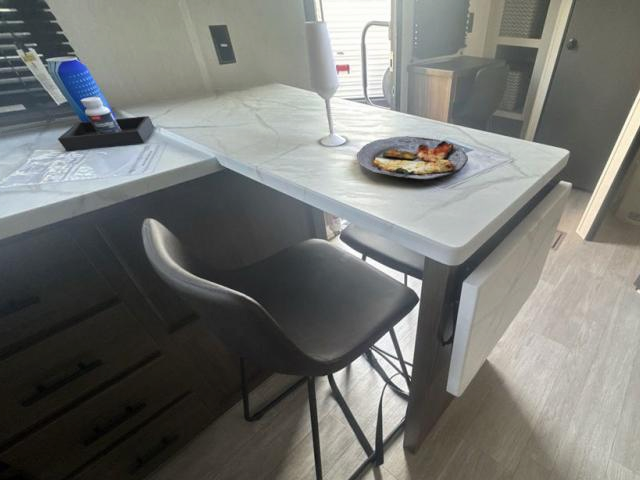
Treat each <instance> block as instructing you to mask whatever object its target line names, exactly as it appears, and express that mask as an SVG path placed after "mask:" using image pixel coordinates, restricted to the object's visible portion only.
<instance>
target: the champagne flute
mask: <svg viewBox="0 0 640 480" xmlns="http://www.w3.org/2000/svg"><path fill="white" fill-rule="evenodd" d="M304 28H305V40H306V51H307V60H308V71H309V80H310V81H309V82H310V86H311V88H312V89H313V91H314V92H315V94H317V95H318V96H319V97H320V98H321V99H323V100H324V102H325V109H326V116H327V122H328V129H329V134H328V135H326V136H325V137H324V138H323V139H321V141H320V143H321V145H323V146H326V147H327V146H328V147H335V146H336V147H337V146H340V145H343V144H345V143H346V142H347V140H346V138H345V137H342V136H340V135H338V134H336V133H335V127H334V121H333V119H334V118H333V112H332V107H331V99H332V98H333V97H335V95H336V93H337V91H338V89H339V86H340V81H339V75H338V70H337V66H336V60H335V55H334V50H333V45H332V40H331V34H330V29H329V24H328V21H324V20H316V21H313V20H312V21H305V22H304Z"/></svg>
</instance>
